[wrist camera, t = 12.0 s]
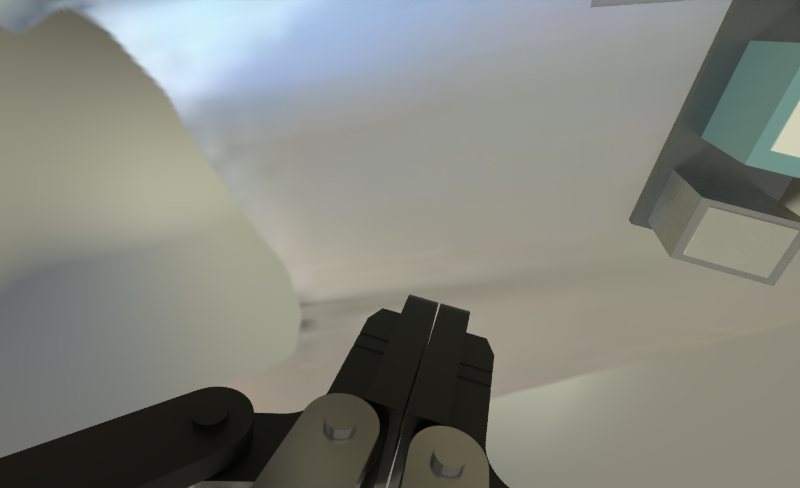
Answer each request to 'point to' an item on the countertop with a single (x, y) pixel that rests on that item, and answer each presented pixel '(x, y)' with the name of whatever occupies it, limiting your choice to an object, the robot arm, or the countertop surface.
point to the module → (761, 109)
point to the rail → (723, 167)
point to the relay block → (625, 2)
